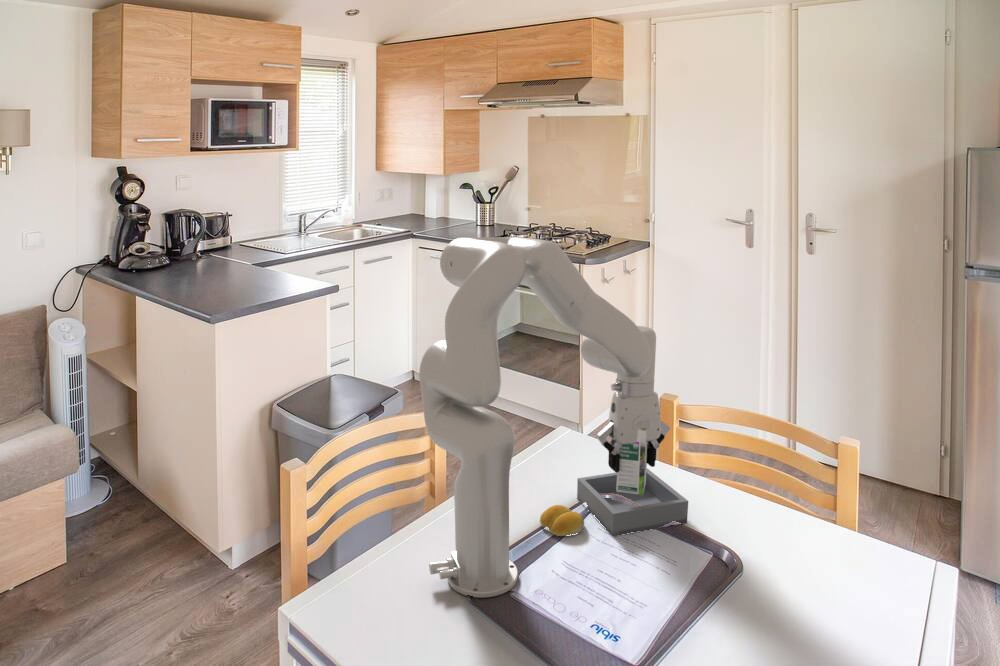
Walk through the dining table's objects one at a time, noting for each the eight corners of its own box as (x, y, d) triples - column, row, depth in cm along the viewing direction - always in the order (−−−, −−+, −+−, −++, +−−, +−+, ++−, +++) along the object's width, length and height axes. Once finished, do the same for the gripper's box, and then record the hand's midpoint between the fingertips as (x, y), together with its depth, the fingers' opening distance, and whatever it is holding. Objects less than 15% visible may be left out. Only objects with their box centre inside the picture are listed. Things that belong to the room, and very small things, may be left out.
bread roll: (565, 543, 139) (565, 524, 138) (533, 526, 146) (533, 508, 145) (593, 529, 144) (593, 511, 143) (561, 513, 151) (561, 496, 150)
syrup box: (615, 492, 148) (617, 427, 145) (619, 480, 154) (621, 417, 150) (643, 496, 146) (646, 430, 143) (646, 483, 152) (649, 420, 148)
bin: (612, 536, 141) (613, 513, 140) (577, 499, 156) (577, 478, 155) (686, 523, 146) (688, 501, 145) (645, 488, 162) (646, 467, 160)
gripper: (604, 397, 139) (602, 480, 143) (682, 387, 144) (678, 468, 148) (588, 386, 146) (586, 465, 150) (663, 377, 151) (659, 454, 155)
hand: (632, 466), depth 149 cm, fingers closed on syrup box, 7 cm apart
